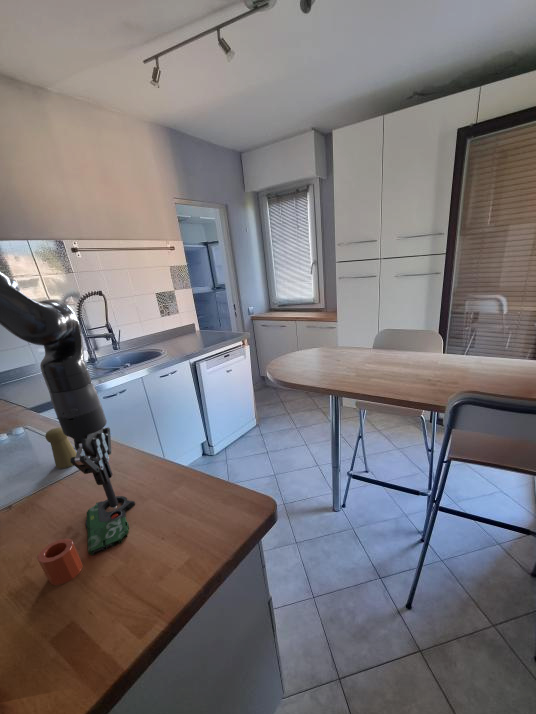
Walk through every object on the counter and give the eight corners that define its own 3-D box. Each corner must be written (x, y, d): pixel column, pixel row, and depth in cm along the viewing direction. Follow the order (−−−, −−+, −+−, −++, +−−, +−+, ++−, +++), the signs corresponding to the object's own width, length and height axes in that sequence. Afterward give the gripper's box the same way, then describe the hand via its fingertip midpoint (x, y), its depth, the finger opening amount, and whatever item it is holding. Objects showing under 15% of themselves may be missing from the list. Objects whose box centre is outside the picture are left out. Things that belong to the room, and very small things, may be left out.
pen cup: (44, 589, 59) (31, 564, 56) (59, 564, 63) (47, 541, 61) (75, 583, 59) (63, 559, 57) (88, 559, 64) (77, 536, 62)
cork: (52, 465, 97) (38, 431, 93) (74, 455, 101) (61, 422, 97) (61, 471, 94) (46, 436, 89) (83, 460, 98) (71, 427, 94)
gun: (141, 531, 68) (85, 554, 63) (143, 536, 69) (88, 559, 64) (131, 490, 81) (84, 507, 76) (133, 495, 82) (86, 512, 77)
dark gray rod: (110, 510, 74) (92, 463, 69) (112, 506, 75) (95, 459, 70) (117, 509, 74) (100, 462, 69) (120, 505, 75) (103, 458, 70)
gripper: (74, 396, 71) (99, 465, 77) (37, 425, 58) (71, 504, 65) (112, 392, 71) (133, 460, 78) (83, 420, 59) (111, 498, 66)
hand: (105, 480), depth 71 cm, fingers closed on dark gray rod, 1 cm apart
